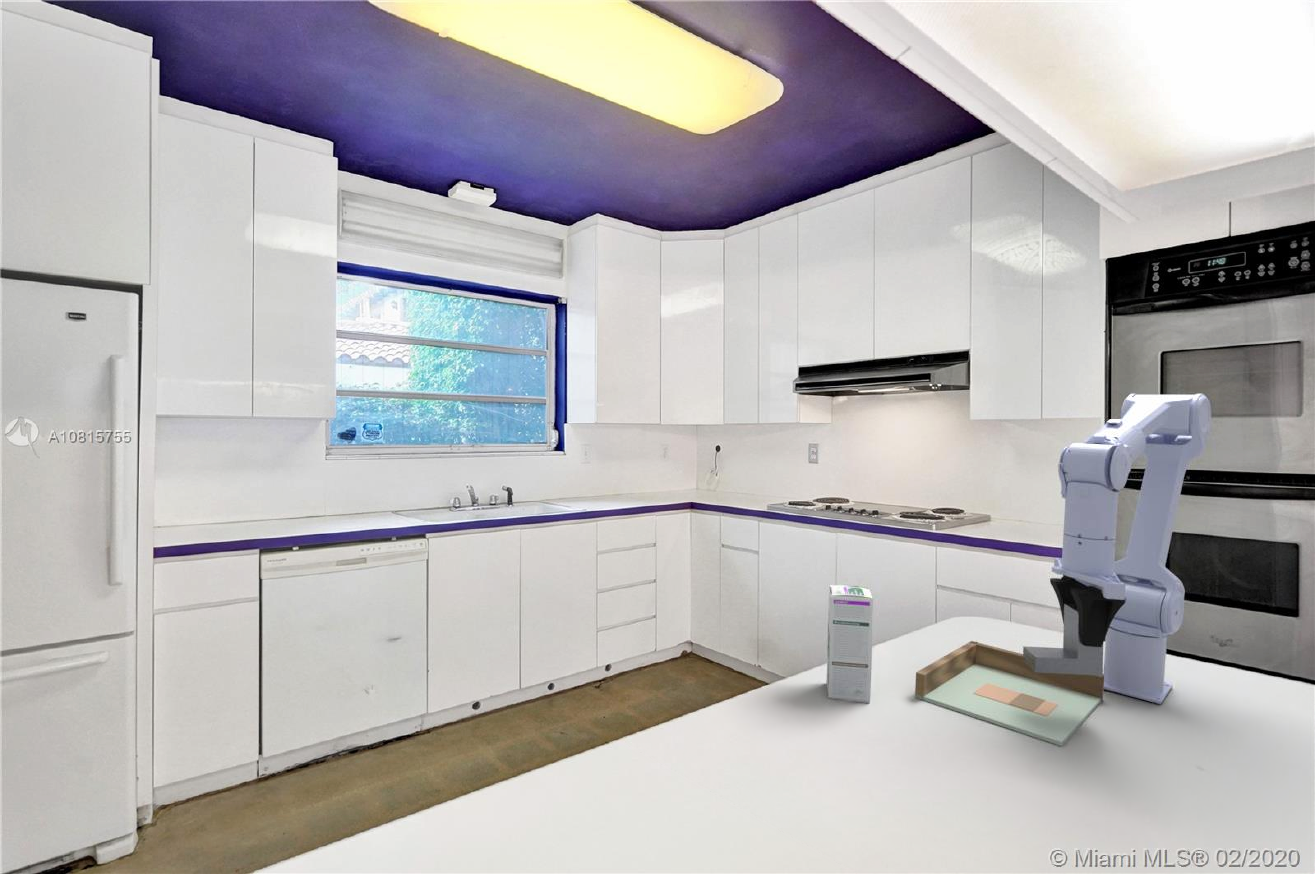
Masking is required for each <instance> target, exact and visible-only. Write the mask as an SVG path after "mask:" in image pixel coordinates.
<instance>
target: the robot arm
mask: <svg viewBox="0 0 1315 874" xmlns="http://www.w3.org/2000/svg"><path fill="white" fill-rule="evenodd" d="M1211 409H1212V408H1211V402H1210V400H1209V399H1208V397H1207V396H1206V395H1205V394H1203V393H1196V394H1138V393H1130V394H1129V395H1128V396H1127V397H1126V398H1125V399H1124V401H1123V403H1122V406H1121V411H1120V419H1114V418H1111V419H1108V420H1107V421H1106V423H1105V424H1103V425H1102V426H1101V427H1100V428H1098V429H1097V431H1095V432H1094V433H1093V434H1091V436H1090V437H1089V438H1087V439H1086V440H1085V441H1084V442H1073V443H1072V444H1070V446H1066V447H1064V448H1063V450H1062V451H1061V454H1060V455H1059V456H1060V457H1059V462H1058V464H1057V465H1058V467H1057V469H1058V471H1057V472H1058V476H1059V481H1060V484H1061V487H1060V488H1061V491H1060V494H1061V498H1063V499H1065V500H1064V504H1065V505H1064V515H1063V516H1064V520H1063V533H1062V536H1063V537H1062V549H1061V550H1062V553H1061V554H1062V556H1061V557H1054V559H1053V560H1054V561H1053V566H1051V572H1052V573H1053V574H1056V575H1062V576H1061V577H1060V578H1058V577H1057V578H1056V577H1053V578H1051V577H1050V579H1049V583H1050V585H1051V587H1052V588H1053V590H1054V593H1055V595H1056V598H1057V600H1058V604H1059V608H1060V612H1061V613H1060V614H1061V618H1062V623H1063V625H1064V604H1076V606H1077V610H1078V615H1079V626H1080V637H1081V642H1082V645H1084V646H1090V647H1102V645H1103V646H1104V654H1103V675H1104V689H1103V690H1106V691H1110V692H1114V693H1117V694H1121V695H1125V696H1129V697H1132V698H1135V699H1140V700H1144V701H1148V702H1150V703H1151V702H1152V703H1154V704H1159V705H1160V704H1162V703H1163V702H1164V701H1165V699H1166V697H1167V696H1168V695H1169V692H1170V691H1171V690H1172V688H1173V684H1172V683H1171V682H1168V681H1165V672H1166V671H1165V669H1166V659H1167V656H1166V655H1167V639H1168V638H1167V637H1168V635H1169V636H1170V635H1173V634H1175V633H1176V632H1178V631H1179V629H1180V628H1181V626H1182V623H1183V619H1184V614H1185V602H1184V601H1185V594H1186V593H1185V592H1186V590H1185V586H1184V585H1183V582H1182V580H1181V579H1179V577H1177V576H1176V575H1175V574H1174V573H1172V571H1170V569H1168V568H1167V567H1166V565H1167V564H1166V563H1167V559H1168V554H1169V550H1170V544H1171V540H1172V534H1173V529H1174V526H1175V520H1176V516H1177V511H1178V506H1179V503H1180V502H1179V501H1180V496H1181V492H1182V487H1183V483H1184V479H1185V478H1184V477H1185V474H1186V473H1187V472H1186V471H1187V468H1188V466H1189V462H1190V461H1191V460H1193V459H1195V458H1198V457H1200V456H1203V454H1204V450H1205V448H1206V446H1207V443H1208V437H1209V433H1210V430H1211V429H1210V428H1211V424H1212V422H1211V421H1212V410H1211ZM1139 456H1142V457H1144V458H1145V460H1146V464H1145V469H1144V473H1143V474H1144V475H1143V478H1142V482H1141V487H1140V491H1139V496H1138V500H1137V504H1136V510H1135V514H1134V518H1133V523H1132V528H1131V531H1130V537H1129V540H1128V546H1127V550H1126V554H1125V557H1123V558H1121V559H1118V560H1117V561H1115V559H1116V557H1115V554H1116V538H1117V522H1118V507H1119V491H1120V490H1121V489H1124V488H1125V485H1126V483H1127V481H1128V477H1129V474H1130V472H1131V471H1132V470H1131V469H1132V463H1134V461H1136V460H1137V458H1138V457H1139Z"/></svg>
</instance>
